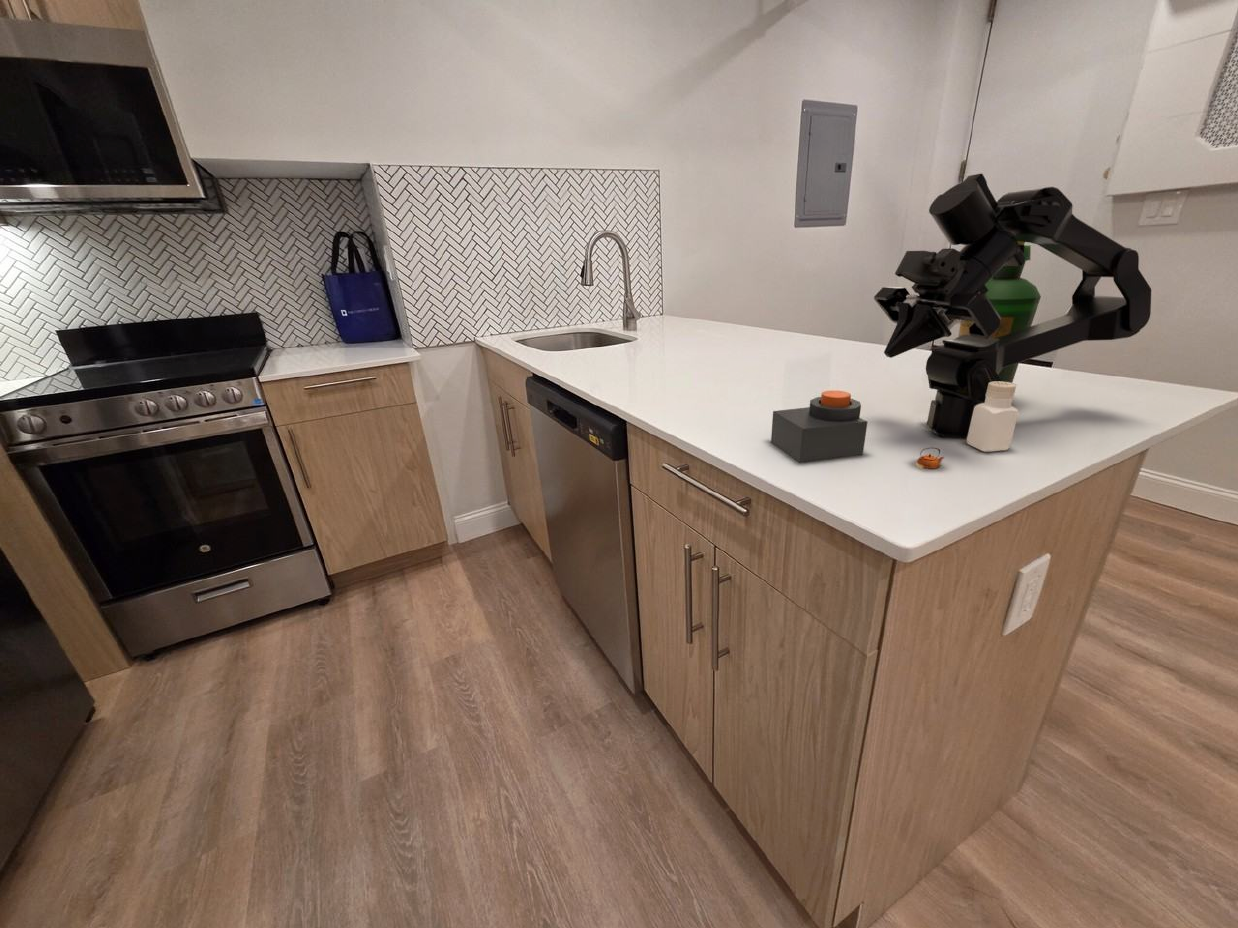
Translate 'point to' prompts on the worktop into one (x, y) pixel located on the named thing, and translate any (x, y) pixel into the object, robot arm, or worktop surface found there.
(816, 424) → the push button base
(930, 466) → the teapot
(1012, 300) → the bottle
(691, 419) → the worktop surface
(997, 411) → the pepper shaker
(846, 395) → the orange push button
